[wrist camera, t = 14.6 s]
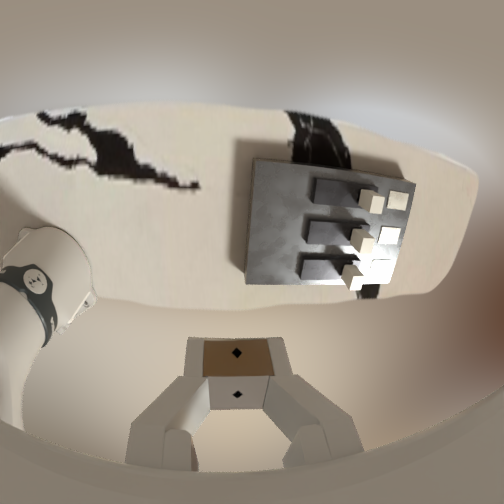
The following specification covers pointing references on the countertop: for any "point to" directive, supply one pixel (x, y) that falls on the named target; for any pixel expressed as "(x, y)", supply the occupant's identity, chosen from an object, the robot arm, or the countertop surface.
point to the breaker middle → (362, 241)
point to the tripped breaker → (371, 201)
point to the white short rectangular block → (352, 277)
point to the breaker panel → (320, 223)
